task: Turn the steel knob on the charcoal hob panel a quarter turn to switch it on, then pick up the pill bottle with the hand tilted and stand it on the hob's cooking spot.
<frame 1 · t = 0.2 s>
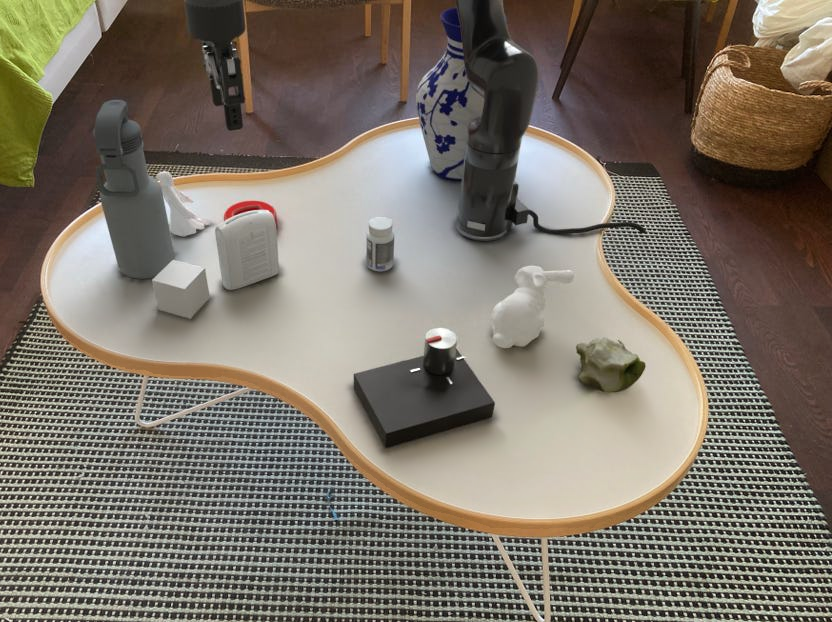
hand: (227, 116, 105), 29 cm above the table, tool pointing down, fingers open, 8 cm apart
knob: (439, 350, 103), point 6 cm above the table, hinge at 0.0°
decorative ornament: (251, 228, 136), on the table
pill bottle: (379, 265, 128), on the table
greyish green lumpy piece: (604, 380, 107), on the table
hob: (421, 402, 103), on the table
vase: (457, 169, 153), on the table
water bottle: (147, 265, 128), on the table
photo printer: (251, 278, 125), on the table
rabbit: (519, 330, 115), on the table
figurine: (188, 229, 136), on the table
white cube: (184, 304, 120), on the table
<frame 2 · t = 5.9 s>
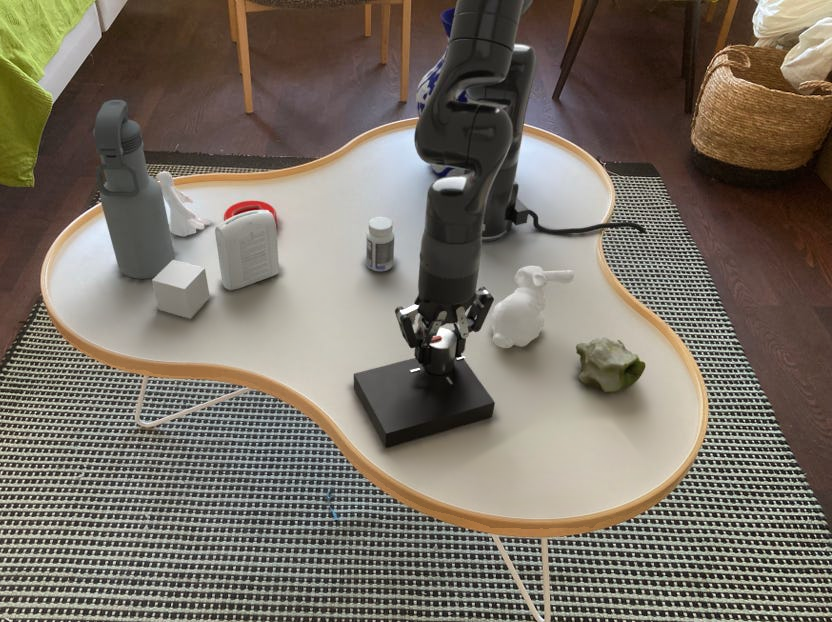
hand: (439, 357, 104), 4 cm above the table, tool pointing down, fingers closed on knob, 4 cm apart
knob: (439, 350, 103), point 6 cm above the table, hinge at 0.0°, touching gripper
everything else where it was.
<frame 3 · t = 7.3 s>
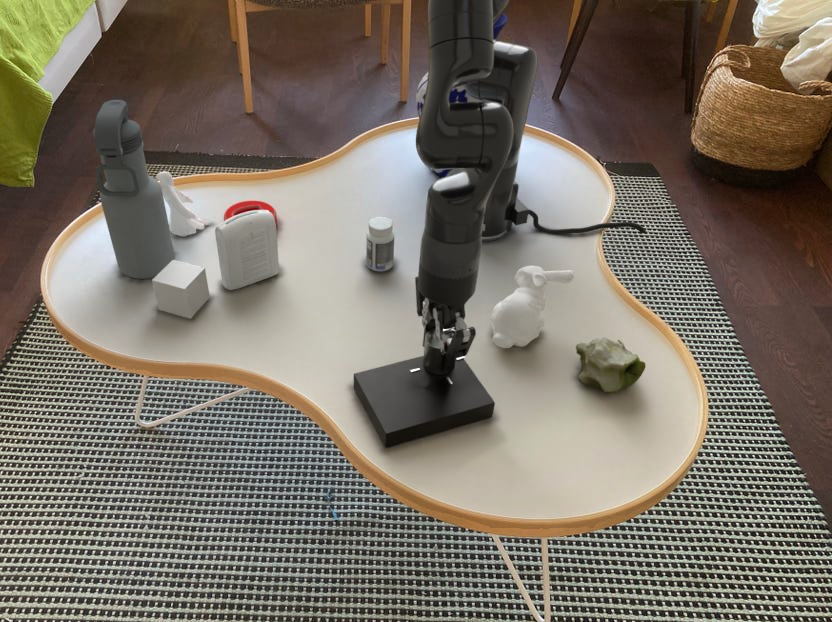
hand: (437, 357, 104), 4 cm above the table, tool pointing down, fingers closed on knob, 4 cm apart
knob: (439, 350, 103), point 6 cm above the table, hinge at 94.6°, touching gripper
everything else where it was.
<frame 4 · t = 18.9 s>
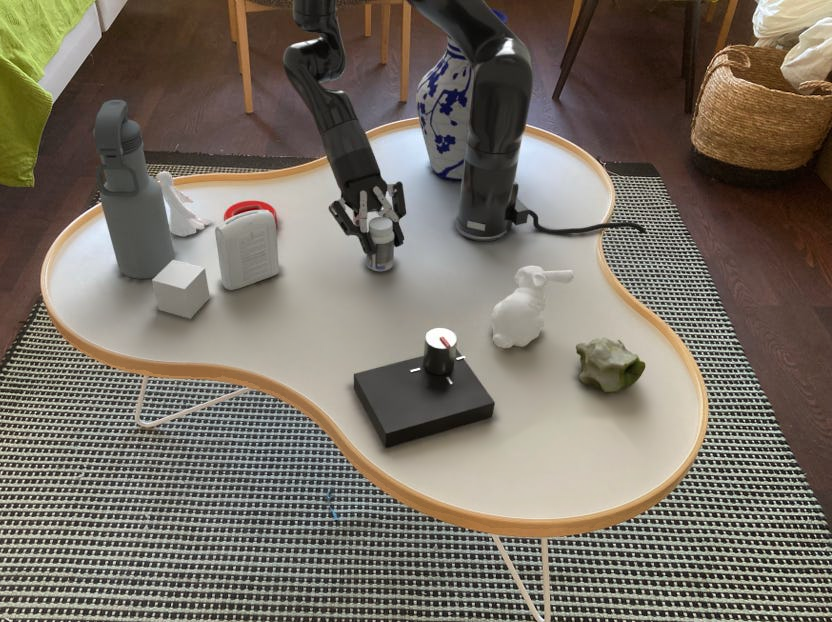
hand: (386, 249, 124), 4 cm above the table, tool tilted 45°, fingers closed on pill bottle, 4 cm apart
knob: (439, 350, 103), point 6 cm above the table, hinge at 93.8°
pill bottle: (379, 265, 128), on the table, touching gripper
everything else where it was.
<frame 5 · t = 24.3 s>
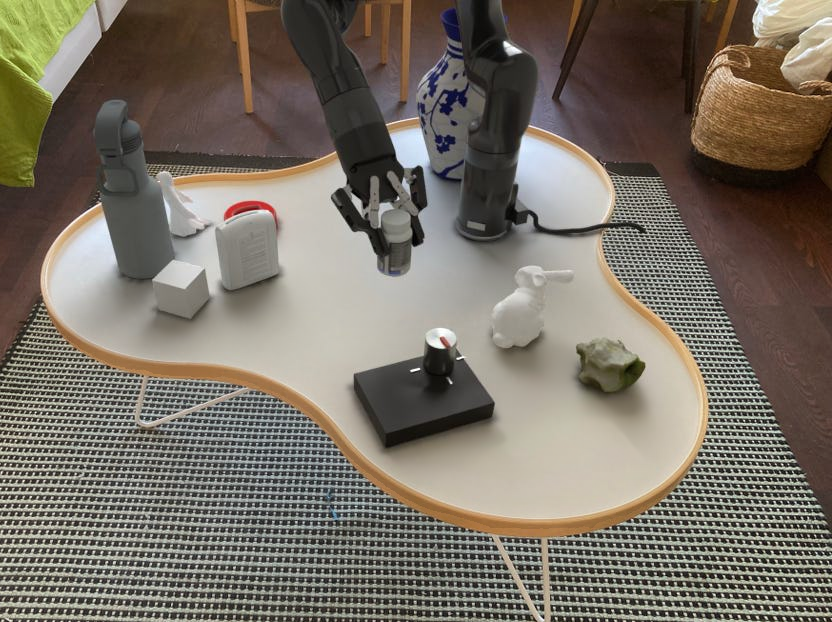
hand: (402, 250, 99), 18 cm above the table, tool tilted 45°, fingers closed on pill bottle, 4 cm apart
pill bottle: (393, 268, 103), point 14 cm above the table, touching gripper
everything else where it was.
when the fingers open (7 cm above the table, at t = 29.8 s): pill bottle stays where it is, resting on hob.
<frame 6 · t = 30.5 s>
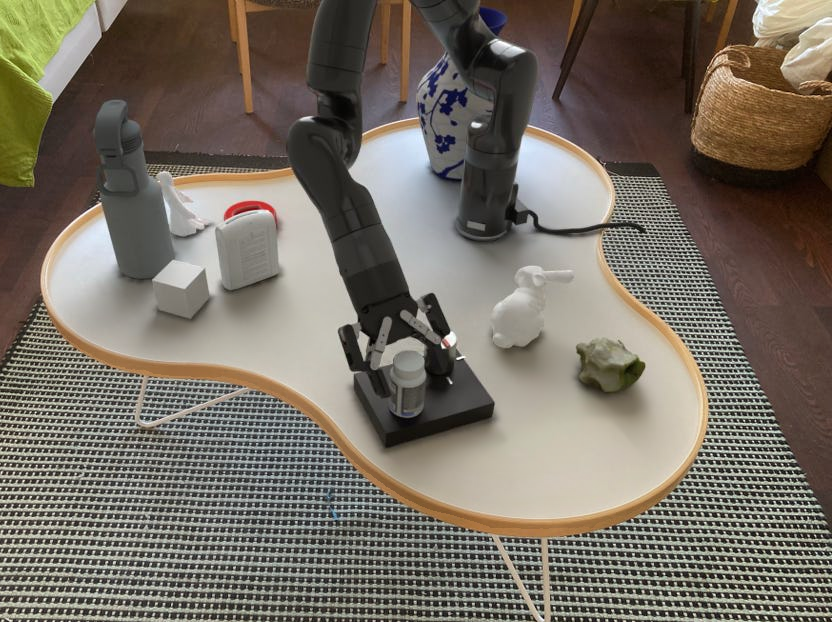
hand: (414, 385, 94), 8 cm above the table, tool tilted 45°, fingers open, 8 cm apart
pill bottle: (405, 406, 99), point 3 cm above the table, touching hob
everything else where it was.
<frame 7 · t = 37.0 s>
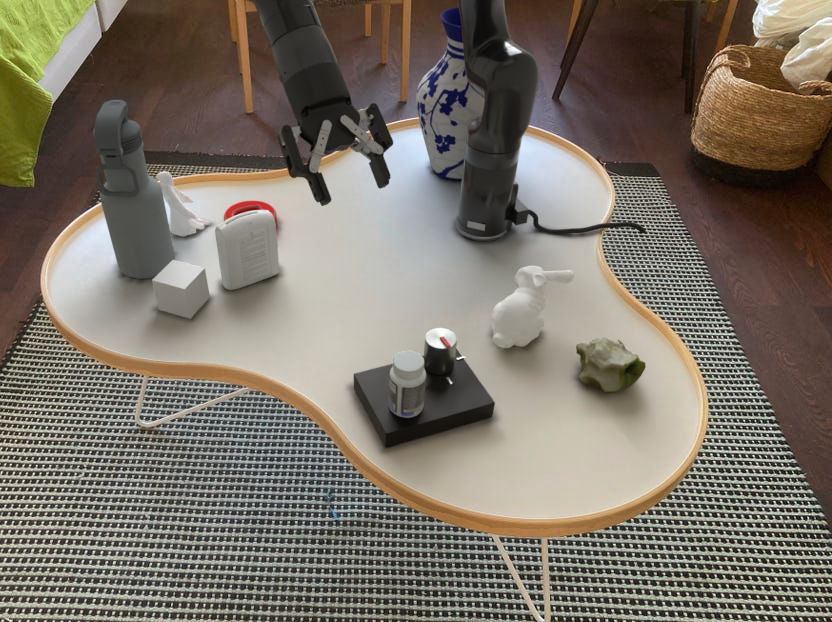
hand: (356, 194, 93), 27 cm above the table, tool tilted 45°, fingers open, 8 cm apart
nothing on the table moved.
at the end: knob at +94° (first picture: +0°); pill bottle 0.2 cm from the target spot on the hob, point 2.8 cm above the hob's base; pill bottle tilted 0° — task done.
